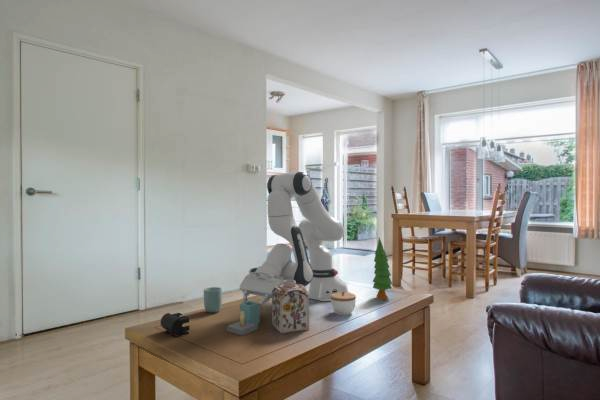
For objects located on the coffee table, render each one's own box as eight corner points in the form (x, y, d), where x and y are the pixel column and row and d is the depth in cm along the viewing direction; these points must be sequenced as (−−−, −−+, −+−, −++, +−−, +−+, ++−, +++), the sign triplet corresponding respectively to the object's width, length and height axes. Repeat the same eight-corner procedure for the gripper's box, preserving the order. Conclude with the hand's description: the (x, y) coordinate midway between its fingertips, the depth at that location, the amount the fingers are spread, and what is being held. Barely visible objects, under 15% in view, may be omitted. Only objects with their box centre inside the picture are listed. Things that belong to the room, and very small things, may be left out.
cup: (217, 314, 171) (217, 291, 171) (200, 313, 173) (200, 290, 173) (224, 309, 179) (224, 287, 179) (208, 308, 181) (208, 286, 180)
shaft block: (242, 325, 156) (242, 307, 156) (257, 329, 151) (257, 311, 151) (227, 331, 150) (227, 312, 150) (242, 335, 145) (242, 316, 145)
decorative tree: (369, 296, 198) (368, 236, 198) (385, 294, 202) (384, 235, 201) (380, 301, 189) (380, 238, 189) (397, 299, 193) (396, 237, 192)
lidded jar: (353, 318, 164) (352, 295, 164) (328, 315, 167) (327, 293, 167) (358, 310, 174) (357, 289, 174) (334, 309, 177) (333, 288, 177)
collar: (249, 320, 162) (249, 301, 162) (259, 322, 159) (259, 303, 159) (240, 324, 158) (239, 304, 158) (249, 326, 155) (249, 306, 155)
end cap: (160, 332, 150) (160, 314, 150) (178, 327, 155) (177, 310, 155) (171, 339, 143) (171, 320, 143) (190, 334, 147) (189, 316, 147)
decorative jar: (271, 324, 157) (270, 279, 157) (299, 321, 161) (298, 276, 161) (280, 334, 146) (280, 285, 145) (310, 330, 150) (309, 282, 149)
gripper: (290, 282, 163) (275, 311, 155) (254, 277, 175) (238, 304, 167) (283, 273, 159) (267, 302, 151) (247, 268, 172) (230, 295, 164)
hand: (252, 303), depth 160 cm, fingers open, 8 cm apart
